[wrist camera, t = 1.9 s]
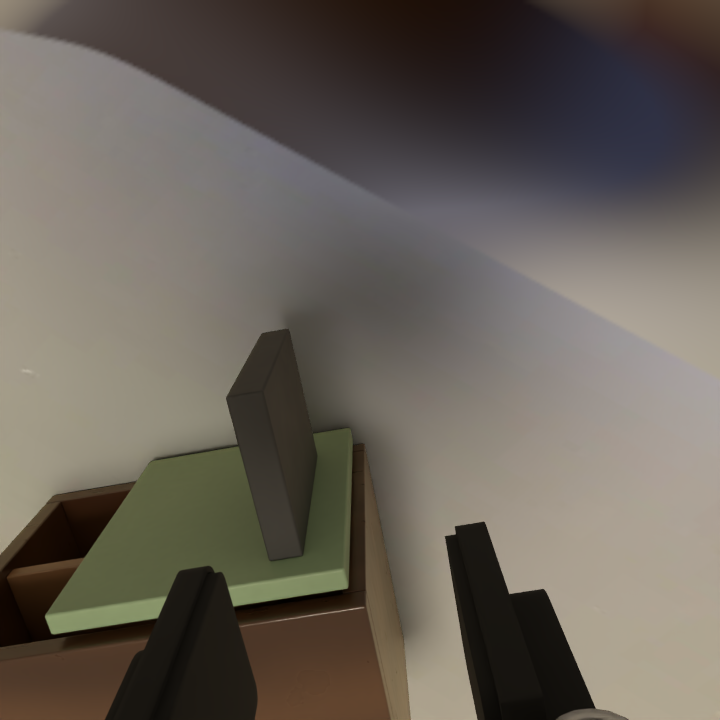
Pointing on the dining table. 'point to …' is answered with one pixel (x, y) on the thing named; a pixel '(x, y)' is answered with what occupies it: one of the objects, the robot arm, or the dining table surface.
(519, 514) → the dining table surface
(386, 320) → the dining table surface
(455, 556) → the robot arm
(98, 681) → the cupboard
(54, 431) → the dining table surface
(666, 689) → the dining table surface
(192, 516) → the sliding door
